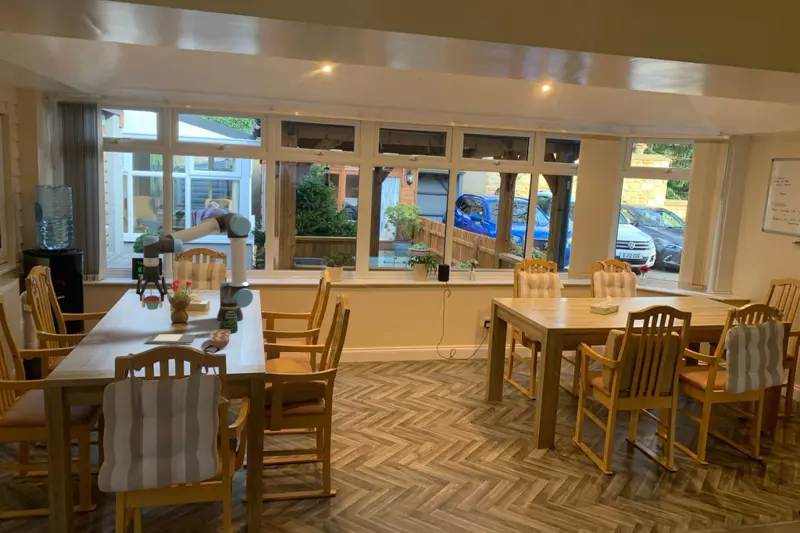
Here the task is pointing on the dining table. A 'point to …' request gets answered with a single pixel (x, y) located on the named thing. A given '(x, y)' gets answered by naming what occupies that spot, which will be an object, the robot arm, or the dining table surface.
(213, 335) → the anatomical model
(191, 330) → the dining table surface
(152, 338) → the board
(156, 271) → the robot arm
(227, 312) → the coffee jar
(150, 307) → the cupcake
